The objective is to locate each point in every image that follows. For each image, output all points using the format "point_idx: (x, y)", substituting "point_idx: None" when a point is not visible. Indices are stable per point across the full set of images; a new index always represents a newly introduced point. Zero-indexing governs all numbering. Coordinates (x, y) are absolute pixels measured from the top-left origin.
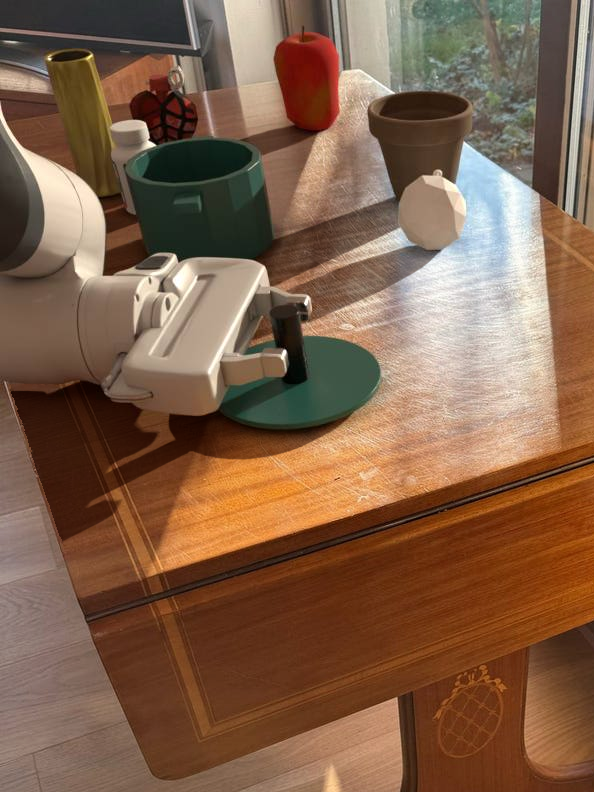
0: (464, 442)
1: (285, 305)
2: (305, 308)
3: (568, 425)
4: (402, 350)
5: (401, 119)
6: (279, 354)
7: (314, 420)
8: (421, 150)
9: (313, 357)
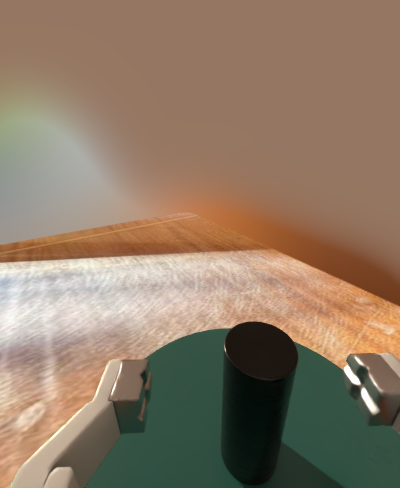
0: (289, 279)
1: (229, 349)
2: (149, 367)
3: (247, 247)
4: (134, 333)
5: None
6: (381, 355)
7: None
8: None
9: (172, 429)
